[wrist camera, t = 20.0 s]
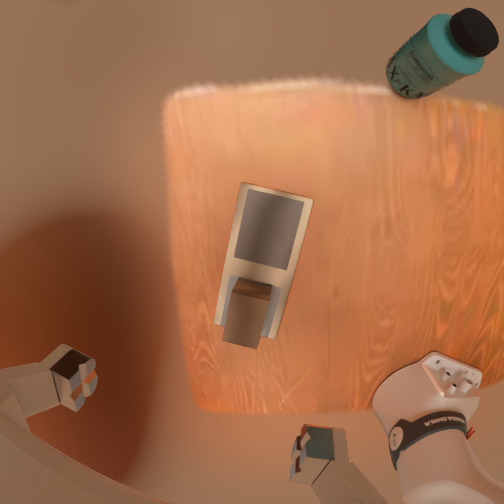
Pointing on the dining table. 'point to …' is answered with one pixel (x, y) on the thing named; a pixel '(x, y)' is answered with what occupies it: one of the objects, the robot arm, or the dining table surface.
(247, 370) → the dining table surface
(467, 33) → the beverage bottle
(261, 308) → the block
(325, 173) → the dining table surface
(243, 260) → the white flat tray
